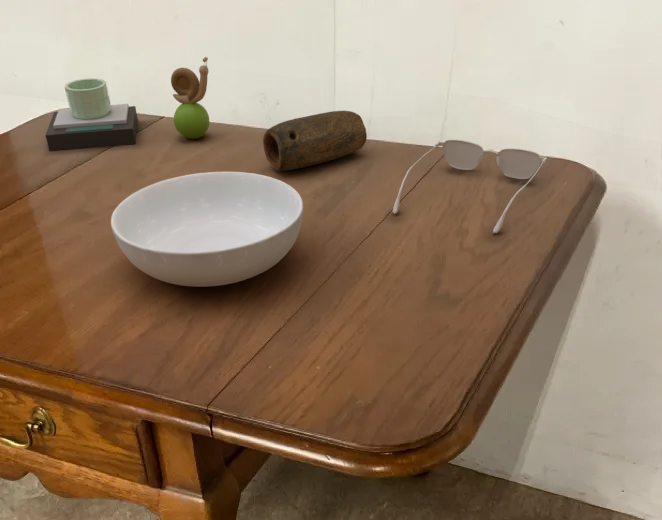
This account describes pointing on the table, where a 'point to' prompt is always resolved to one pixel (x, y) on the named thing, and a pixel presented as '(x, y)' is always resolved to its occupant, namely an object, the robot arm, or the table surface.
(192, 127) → the snail figurine
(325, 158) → the hollow wooden cylinder
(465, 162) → the eyeglasses
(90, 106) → the dip bowl
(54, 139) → the scale
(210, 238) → the serving bowl
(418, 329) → the table surface
